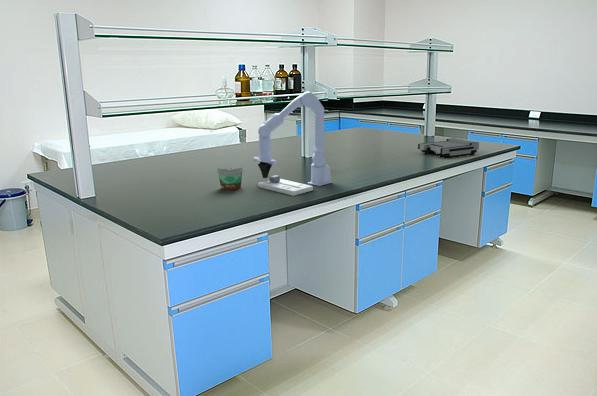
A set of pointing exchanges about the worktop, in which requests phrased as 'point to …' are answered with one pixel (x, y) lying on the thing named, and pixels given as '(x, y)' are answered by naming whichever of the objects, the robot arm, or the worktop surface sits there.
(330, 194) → the worktop surface
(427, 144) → the game console
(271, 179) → the fader tab
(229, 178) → the food container
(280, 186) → the fader console
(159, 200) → the worktop surface
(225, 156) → the worktop surface
